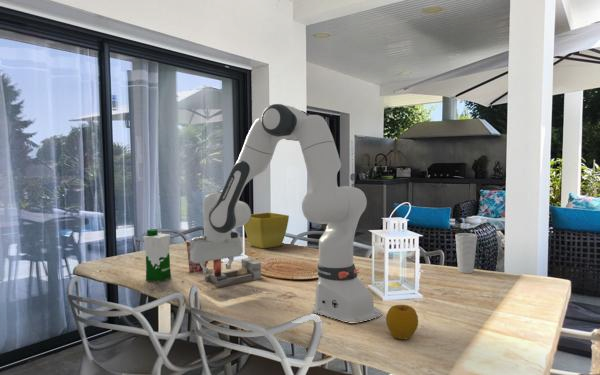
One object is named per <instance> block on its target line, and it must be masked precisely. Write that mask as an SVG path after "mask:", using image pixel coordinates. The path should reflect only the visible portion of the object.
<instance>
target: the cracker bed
mask: <svg viewBox="0 0 600 375" xmlns="http://www.w3.org/2000/svg"><path fill="white" fill-rule="evenodd" d="M242 267H244V268H246V269H247V271H248V274H247V275H243V276H239V275H238V270H239V269H234V270H230V271H224V272H221V273H222V274H225V275H226V277H227V279H223V280H218V281H215V284H214V283H212V282H210V281H209V274H208V275H204V279H202V280H201V279H200V280H197V282H198V283H200V284H201V285H203V286H204V287H206V288H208V289H210V290H211V291H215V290H219V289H224V288H228V287H232V286H237V285H242V284H246V283H252V282H255V281H256V282H257V281H261V280H265V278H264V277H262V269H261V268H262V266H261V262H259V261H257V260H254V259H251V258H248V257H247V258H242V259H241V268H242Z"/></svg>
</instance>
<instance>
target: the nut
mask: <svg viewBox="0 0 600 375" xmlns="http://www.w3.org/2000/svg"><path fill="white" fill-rule="evenodd" d="M237 270H238V275H239V276H243V275H247V274H248V271H247V269H246V268H244V267H242V266H241V267H239V269H237Z"/></svg>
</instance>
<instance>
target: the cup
mask: <svg viewBox="0 0 600 375" xmlns="http://www.w3.org/2000/svg"><path fill="white" fill-rule="evenodd" d="M477 241H478V235H477V233H476V234H475V233H472V232H471V233H469V232H458V233H455V249H456V260H457V271H458V273H461V274H473V273H474V271H475V260H476V251H477V243H478V242H477Z"/></svg>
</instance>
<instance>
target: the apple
mask: <svg viewBox="0 0 600 375" xmlns="http://www.w3.org/2000/svg"><path fill="white" fill-rule="evenodd" d="M385 323H386V326H387V329H388V331H389V332H390V334H391V336H392V337H393V338H394V337H395V339H396V338H399V339H398V340H406V339H405V338H408V339H410V338H412V336H413V335H414V333H416V331H417V330H418V325H419V315H418V313H417V312H416V310H415V308H413V307H412V306H410V305H407V304H396V305H393V306H390V308H389V309H388V311H387V313H386V316H385Z"/></svg>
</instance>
